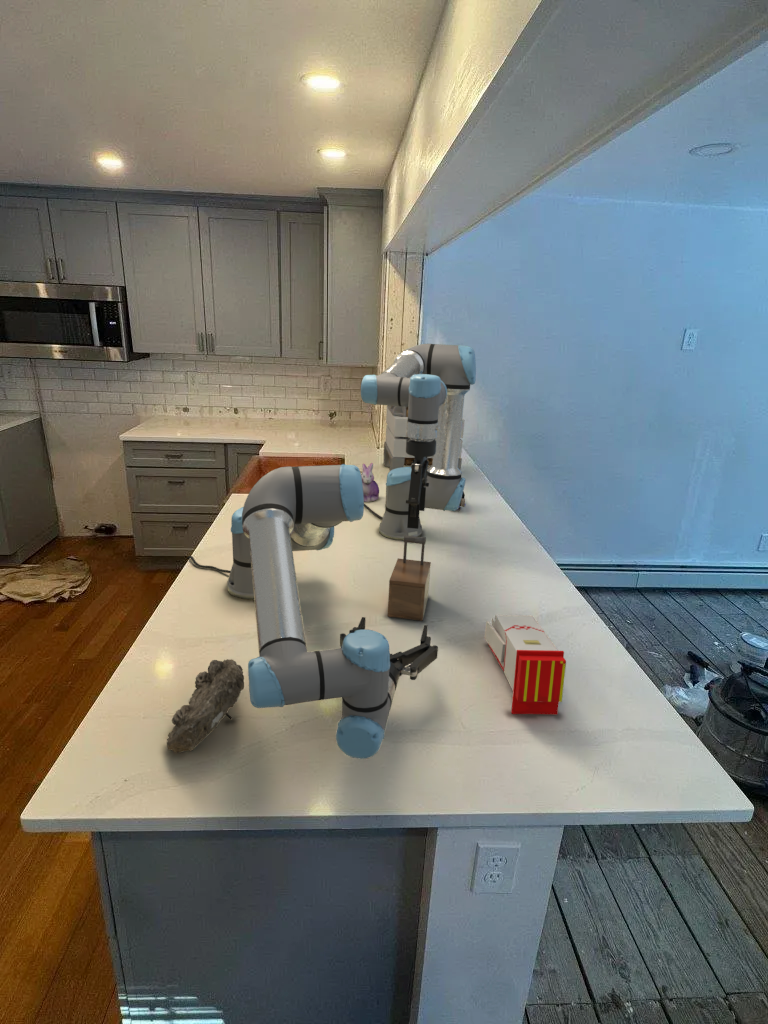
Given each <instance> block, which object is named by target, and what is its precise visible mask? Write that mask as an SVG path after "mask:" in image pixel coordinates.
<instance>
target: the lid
mask: <svg viewBox="0 0 768 1024" xmlns="http://www.w3.org/2000/svg"><path fill="white" fill-rule="evenodd" d="M426 543H427V537H424V536H420V537H417V536H407V535H404V540H403V558H397V560H396V562H395V565H394V567H393V570H392V572H391V575H390V578H389V581H388V584H389V583H391V584H399V585H408V586H416V587H424V588H425V586H426V582H427V578H428V574H429V570H430V571H431V565H432V562H431V561H425V560H424V559H425V549H426V548H425V547H426V546H425V545H426ZM408 544H415V545H421V550H420V551H421V552H420V560H415V559H408V558H407V554H408V553H407V551H408Z"/></svg>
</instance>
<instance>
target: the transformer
mask: <svg viewBox="0 0 768 1024" xmlns="http://www.w3.org/2000/svg"><path fill="white" fill-rule="evenodd" d="M385 414H386V415H385V423H386V428H385V438H384V442H383V466H384V467H388V468H389V472H390V471H391V470H393V469H396V468H401V467H405V466H406V467H411V463H412V462H413V460H414V459H415V457H414V456H411V455H408V454H407V453H406V440H407V439H408V437H407V436H406V433H407V420H408V407H402V406H390V405H386V413H385ZM464 429H465V419H464V418H462V427H461V438H460V448H459V459H458V468H459V469H460V471H461V472H462V461H463V460H462V453H463V442H464V441H463V440H462V439H463V438H464V431H465V430H464ZM427 461H428V467H431V466H432V461H433V456H431V457H427Z"/></svg>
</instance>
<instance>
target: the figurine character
mask: <svg viewBox="0 0 768 1024" xmlns="http://www.w3.org/2000/svg"><path fill="white" fill-rule="evenodd" d="M465 496H466V494H465V492H464V490H463V494H462V498H461V502H460V505H459V507H458V509H457V510H458V511H461V510H462V509H461V508H465V505H466V497H465Z"/></svg>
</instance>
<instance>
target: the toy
mask: <svg viewBox="0 0 768 1024" xmlns="http://www.w3.org/2000/svg"><path fill="white" fill-rule="evenodd" d="M494 615H495V616H494V617H491V622H490V620H485V621H486V622H485V630H484V640H485V641H486V642H487V646H488V647H489V649H490V651H491V652H492V654H493V656H494V657H495V659H496V661H497V663H498V665H499V667H500V668H501V670H502V671H503V674H504V676H505V678H506V680H507V682H508V684H509V686H510V689H511V690H512V701H511V712H510V713H511V714H512V715H556V716H558V715H559V714H558V713H559V705H560V703H562V702H563V695H564V694H563V693H564V686H565V685H564V683H565V677H566V676H565V675H566V667H567V666H566V665H567V660H566V658H564V656H565V651H564V650H559V649H558V648H557V646H556V645H555V644H554V642H553V641H552V640H551V638H550V637H549V636H548V634H547V633H546V631H544V629H543V628H542V626H541V625H540V623H539V622H538V620H536V618H535V617H534V615H531V614H530V615H527V614H526V615H523V614H519V615H518V614H494Z"/></svg>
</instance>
